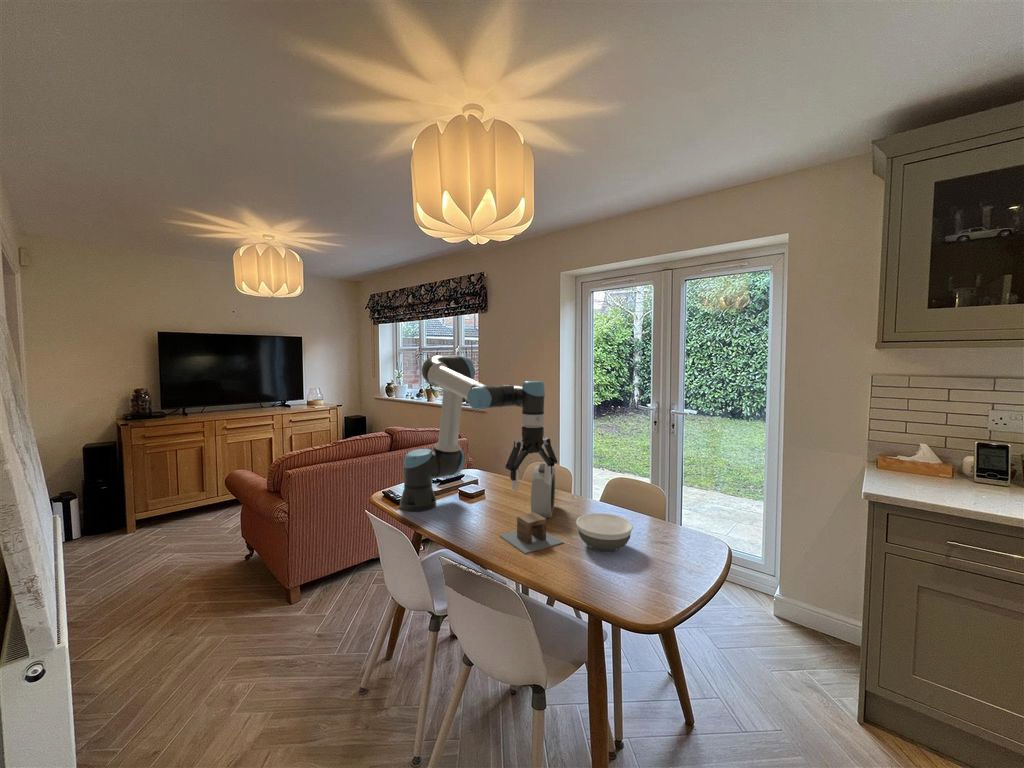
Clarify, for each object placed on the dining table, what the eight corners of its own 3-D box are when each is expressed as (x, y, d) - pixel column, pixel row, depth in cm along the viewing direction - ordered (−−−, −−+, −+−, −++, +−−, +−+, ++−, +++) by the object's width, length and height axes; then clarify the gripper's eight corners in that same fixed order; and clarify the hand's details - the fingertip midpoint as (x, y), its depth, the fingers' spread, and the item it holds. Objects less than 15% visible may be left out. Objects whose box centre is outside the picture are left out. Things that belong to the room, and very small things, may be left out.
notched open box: (528, 544, 143) (528, 523, 143) (516, 537, 149) (517, 516, 149) (546, 540, 147) (546, 518, 147) (534, 532, 153) (534, 512, 153)
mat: (499, 536, 151) (499, 535, 151) (536, 527, 159) (536, 526, 159) (524, 554, 137) (524, 552, 137) (563, 543, 146) (563, 542, 146)
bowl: (622, 565, 131) (623, 539, 130) (566, 550, 141) (567, 525, 140) (639, 543, 147) (639, 520, 146) (588, 531, 156) (588, 509, 156)
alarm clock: (549, 522, 165) (550, 471, 164) (530, 520, 166) (531, 470, 165) (555, 504, 186) (555, 459, 184) (538, 502, 187) (538, 458, 186)
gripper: (507, 430, 136) (506, 495, 138) (568, 424, 150) (566, 484, 151) (495, 427, 143) (495, 489, 144) (554, 422, 156) (553, 478, 157)
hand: (531, 486), depth 148 cm, fingers open, 13 cm apart
